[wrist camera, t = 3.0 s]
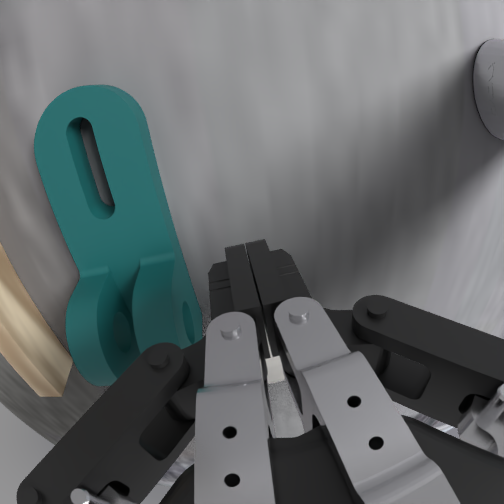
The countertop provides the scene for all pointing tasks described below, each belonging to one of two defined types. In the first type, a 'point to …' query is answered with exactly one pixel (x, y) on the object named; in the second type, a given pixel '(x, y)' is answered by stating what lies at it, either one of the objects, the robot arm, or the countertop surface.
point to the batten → (29, 337)
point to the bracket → (114, 234)
